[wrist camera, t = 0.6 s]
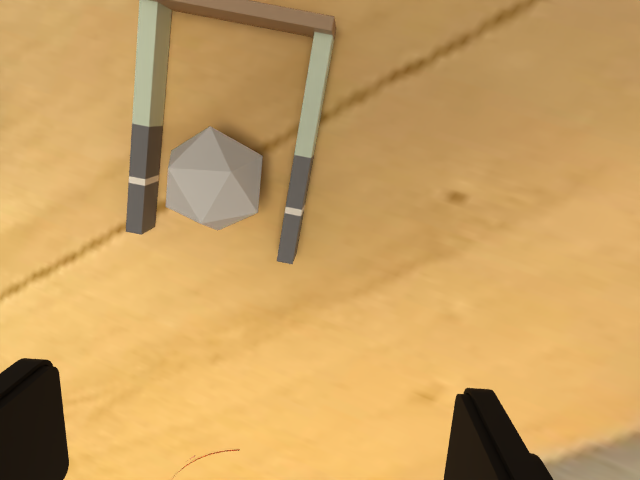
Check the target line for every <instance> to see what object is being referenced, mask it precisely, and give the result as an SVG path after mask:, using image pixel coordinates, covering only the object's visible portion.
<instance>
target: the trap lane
mask: <svg viewBox="0 0 640 480" xmlns="http://www.w3.org/2000/svg"><path fill="white" fill-rule="evenodd" d="M172 10H173V11H179V12H184V13H189V14H195V15H200V16H205V17H210V18H216V19H221V20H226V21H231V22H237V23H242V24H247V25H252V26H258V27H263V28H268V29H274V30H279V31H284V32H289V33H295V34H300V35H305V36H310V37H314V38H313V44H312V50H311V56H310V62H309V68H308V74H307V80H306V87H305V93H304V99H303V105H302V111H301V117H300V123H299V129H298V135H297V141H296V147H295V153H294V159H293V165H292V171H291V178H290V184H289V190H288V196H287V202H286V208H285V214H284V220H283V226H282V232H281V238H280V244H279V250H278V256H277V261H278V262H283V263H289V264H293V261H294V259H295V256H296V253H297V247H298V241H299V236H300V230H301V225H302V219H303V213H304V208H305V202H306V196H307V191H308V185H309V179H310V174H311V168H312V163H313V157H314V151H315V146H316V140H317V134H318V129H319V123H320V117H321V112H322V106H323V101H324V95H325V89H326V84H327V78H328V72H329V67H330V61H331V55H332V50H333V44H334V39H335V33H336V24H335V18H334V16H329V15H323V14H318V13H313V12H308V11H302V10H297V9H292V8H286V7H281V6H276V5H271V4H265V3H260V2H255V1H249V0H140V1H139V17H138V34H137V51H136V68H135V85H134V102H133V119H132V136H131V153H130V170H129V187H128V203H127V220H126V232H131V233H136V234H143V233H145V232H147V231H148V230H150V229H152V228H154V227H155V220H156V207H157V194H158V182H159V169H160V156H161V143H162V131H163V118H164V105H165V93H166V80H167V67H168V54H169V42H170V29H171V16H172Z"/></svg>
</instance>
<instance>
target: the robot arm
mask: <svg viewBox="0 0 640 480" xmlns="http://www.w3.org/2000/svg"><path fill="white" fill-rule="evenodd" d="M68 466H69V458H68V449H67V440H66V431H65V422H64V413H63V405H62V396H61V387H60V378H59V371H58V369H57V368H56V367H53V364H52V363H51V361H49V360H42V359H27V358H24V359H20V360H18V361H17V362H15V363H14V364H13V365H11V366H10V367H9V368H7V369H6V370H4V371H3V372H2V373H0V480H63V479H64V478H65V476H66V474H67V471H68ZM444 480H553V478H552V477H551V475H550V473H549V472H548V470H547V469H546V467H545V465H544V464H543V462H542V461H541V459H540V458H539V457H538V456H537V455H535V454H531V453H529V451H528V449H527V448H526V446H525V444H524V442H523V441H522V439H521V437H520V436H519V434H518V432H517V430H516V429H515V427H514V425H513V424H512V422H511V420H510V418H509V417H508V415H507V413H506V412H505V410H504V408H503V406H502V405H501V403H500V401H499V400H498V398H497V396H496V395H495V393H494V392H493V390H489V389H475V388H466V389H465V391H464V394H457V396H456V399H455V406H454V413H453V420H452V426H451V433H450V440H449V447H448V454H447V460H446V467H445V474H444Z"/></svg>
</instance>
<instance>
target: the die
mask: <svg viewBox="0 0 640 480" xmlns="http://www.w3.org/2000/svg"><path fill="white" fill-rule="evenodd" d="M262 157H263V156H262V155H260V154H259V153H257V152H255V151H253V150H251V149H250V148H248V147H246V146H244V145H243V144H241V143H239V142H237V141H235V140H234V139H232V138H230V137H228V136H227V135H225V134H223V133H221V132H220V131H218V130H216V129H214V128H212V127H211V126H209V127H208V128H206V129H205V130H203V131H202V132H200V133H198V134H197V135H195V136H194V137H192V138H191V139H189V140H187V141H186V142H184V143H183V144H181V145H179V146H178V147H176V148H175V149H173V150H172V151H171V155H170V161H169V166H168V177H167V195H166V207H167V208H169V209H171V210H173V211H175V212H178V213H180V214H182V215H184V216H186V217H188V218H190V219H192V220H194V221H196V222H198V223H200V224H202V225H205V226H208V227H210V228H213V229H215V230H220V229H223V228H225V227H227V226H229V225H231V224H234V223H236V222H238V221H240V220H243V219H245V218H247V217H249V216H252V215H254V214H256V213H258V205H259V193H260V181H261V169H262Z"/></svg>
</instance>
